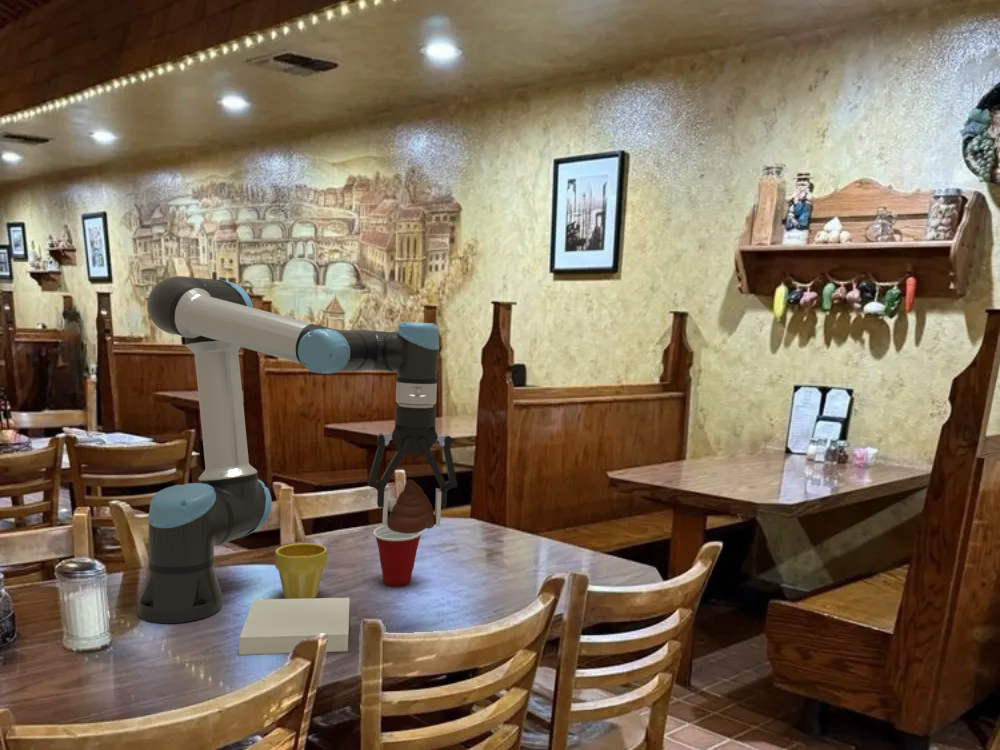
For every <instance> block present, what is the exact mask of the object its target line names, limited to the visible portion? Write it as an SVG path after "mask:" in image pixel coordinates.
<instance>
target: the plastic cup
mask: <svg viewBox="0 0 1000 750" xmlns="http://www.w3.org/2000/svg"><path fill="white" fill-rule="evenodd" d="M423 532H424V530H423V531H420V532H417V533H410V534H407V533H399V532H394V531H392V530H390V529H389V528H388V526H383V525H380V526H378V527H376V528H375V529H373V533H372V534H373V536H374V537H375V540H376V543H377V547H378V555H379V561H380V562H379V563H380V569H381V571H382V572H381V573H382V581H383V583H384V585H385V586H388V587H393V588H399V587H406V586H408V585H410V583H411V579H412V575H413V570H414V567H415V562H416V557H417V552H418V551H417V550H418V547H419V542H420V540H421V539H420V538H421V537H422V535H423Z"/></svg>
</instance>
